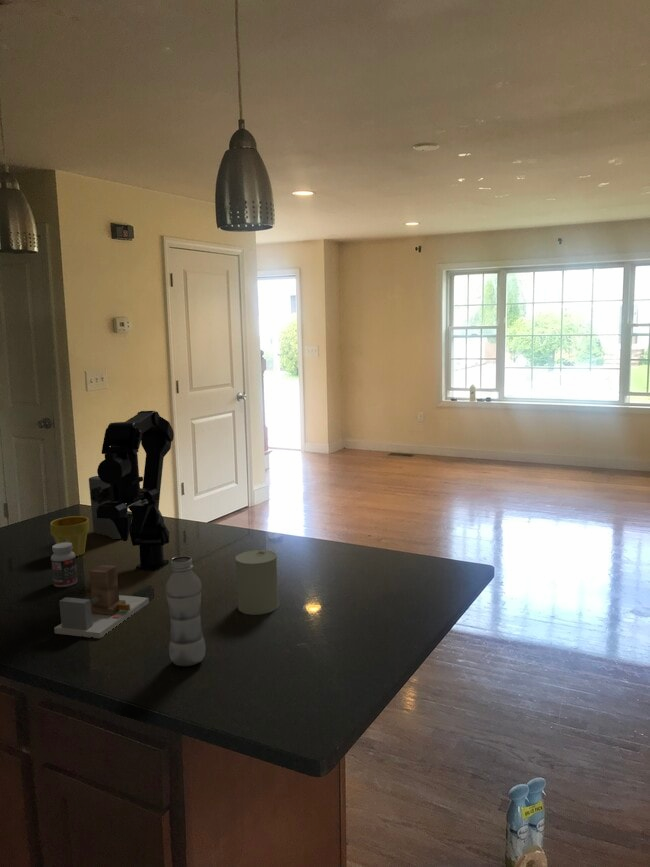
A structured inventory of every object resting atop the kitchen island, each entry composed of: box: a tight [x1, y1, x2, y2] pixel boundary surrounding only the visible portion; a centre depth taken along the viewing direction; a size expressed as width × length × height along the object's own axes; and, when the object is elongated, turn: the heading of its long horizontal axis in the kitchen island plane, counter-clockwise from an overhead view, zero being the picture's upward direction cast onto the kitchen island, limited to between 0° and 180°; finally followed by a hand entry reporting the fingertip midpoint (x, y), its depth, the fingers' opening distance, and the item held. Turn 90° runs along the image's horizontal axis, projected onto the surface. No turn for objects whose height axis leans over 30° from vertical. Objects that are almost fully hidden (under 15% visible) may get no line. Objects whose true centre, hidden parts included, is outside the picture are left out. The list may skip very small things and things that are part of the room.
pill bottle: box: [50, 542, 78, 588], centre depth 168 cm, size 6×6×10 cm
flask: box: [88, 475, 122, 540], centre depth 208 cm, size 15×6×20 cm, turn 49°
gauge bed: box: [53, 594, 150, 639], centre depth 147 cm, size 18×11×7 cm, turn 163°
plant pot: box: [49, 515, 90, 557], centre depth 191 cm, size 10×10×10 cm
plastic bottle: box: [164, 555, 207, 667], centre depth 125 cm, size 6×7×20 cm
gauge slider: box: [89, 564, 130, 615], centre depth 147 cm, size 7×9×9 cm
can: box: [234, 549, 280, 616], centre depth 150 cm, size 9×9×12 cm
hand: (131, 537), depth 165 cm, fingers open, 5 cm apart
